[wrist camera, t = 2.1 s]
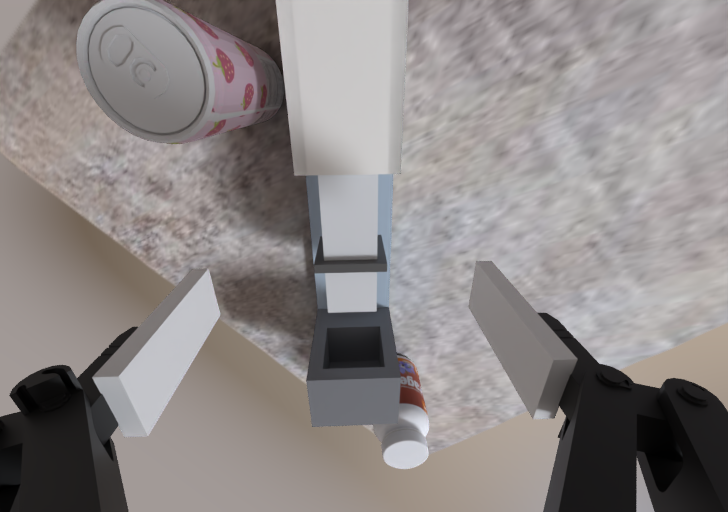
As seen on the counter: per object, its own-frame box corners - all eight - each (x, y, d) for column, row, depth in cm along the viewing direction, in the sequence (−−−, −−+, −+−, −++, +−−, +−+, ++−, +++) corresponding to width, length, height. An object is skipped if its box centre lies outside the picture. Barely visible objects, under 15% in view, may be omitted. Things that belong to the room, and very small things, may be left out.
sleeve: (301, 27, 24) (274, -10, 15) (389, 27, 24) (409, -10, 16) (311, 151, 28) (294, 175, 19) (386, 150, 28) (400, 173, 20)
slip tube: (298, -54, 19) (280, -104, 14) (386, -53, 19) (398, -103, 15) (323, 282, 30) (318, 318, 25) (380, 281, 30) (385, 316, 25)
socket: (317, 309, 35) (306, 380, 27) (388, 307, 36) (400, 377, 27) (321, 349, 38) (312, 426, 29) (387, 347, 38) (398, 423, 29)
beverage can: (222, 31, 24) (67, -47, 11) (293, 64, 26) (230, 30, 12) (208, 105, 27) (66, 115, 13) (274, 133, 28) (203, 167, 15)
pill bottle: (425, 372, 42) (448, 457, 32) (388, 393, 44) (399, 480, 34) (398, 345, 40) (413, 427, 30) (360, 368, 41) (362, 454, 31)
